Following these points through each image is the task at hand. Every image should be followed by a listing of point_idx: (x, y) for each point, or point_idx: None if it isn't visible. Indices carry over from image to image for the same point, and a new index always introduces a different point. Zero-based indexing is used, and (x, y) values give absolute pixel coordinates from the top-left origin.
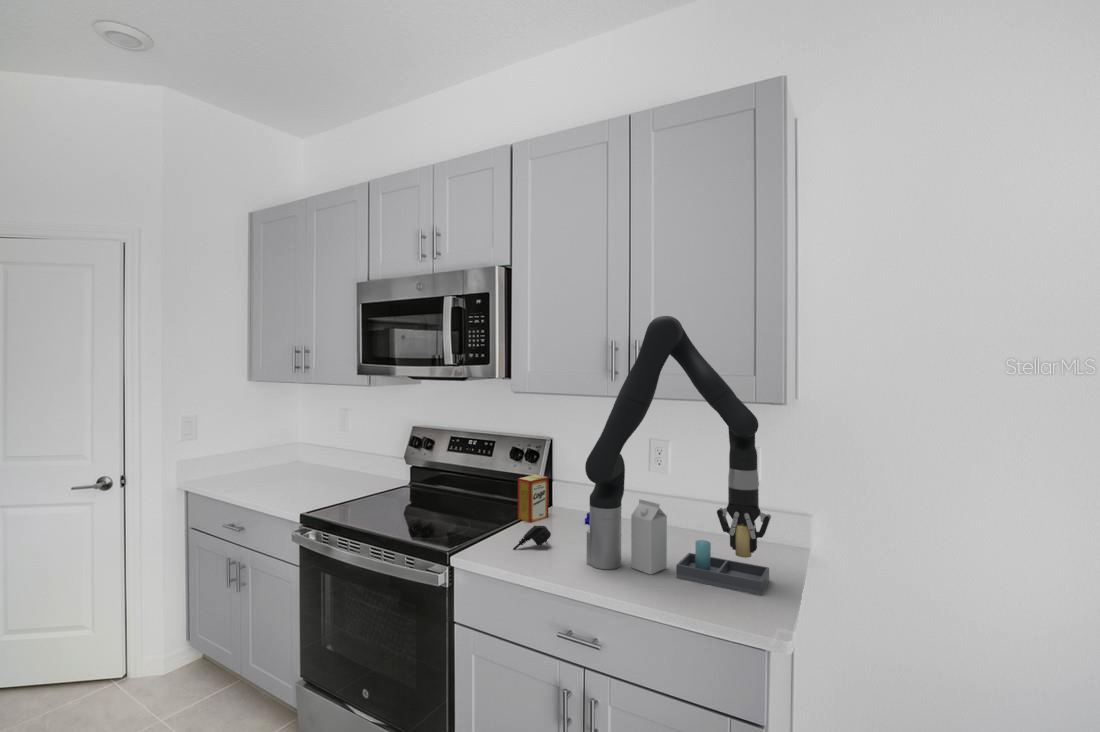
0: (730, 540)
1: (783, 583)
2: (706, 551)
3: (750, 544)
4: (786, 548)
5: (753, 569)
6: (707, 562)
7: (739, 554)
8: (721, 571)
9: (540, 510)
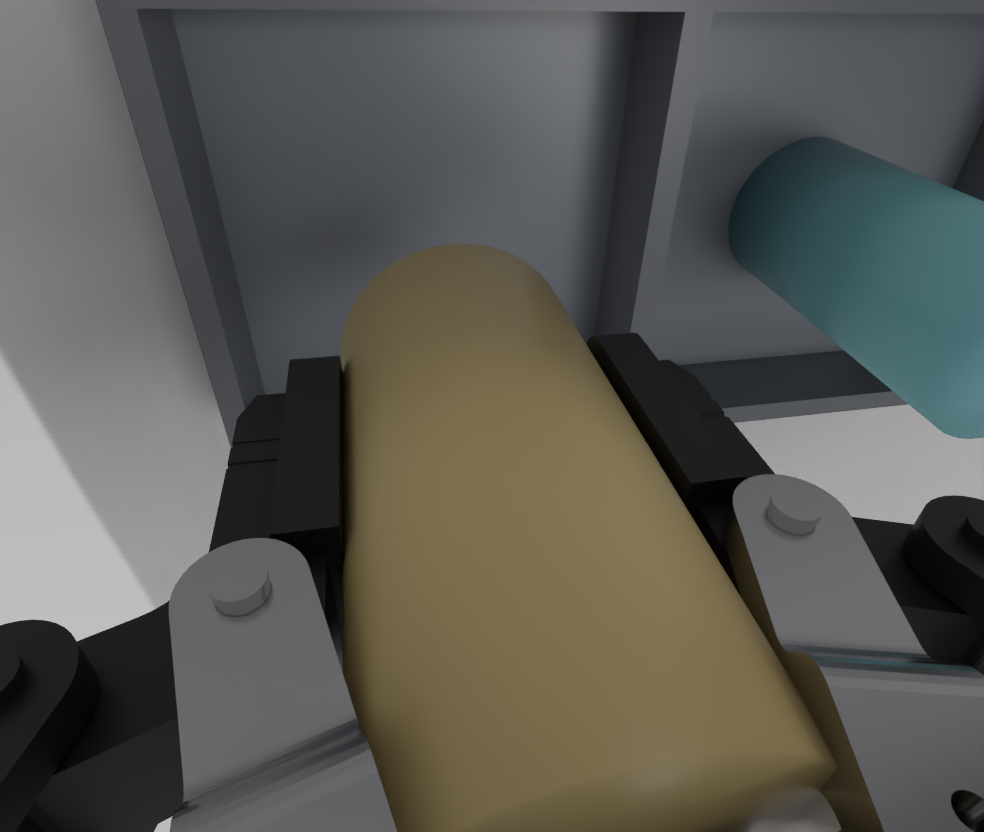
0: (724, 426)
1: (133, 412)
2: (931, 249)
3: (330, 437)
4: None
5: None
6: (824, 209)
7: (498, 260)
8: (650, 147)
9: None
